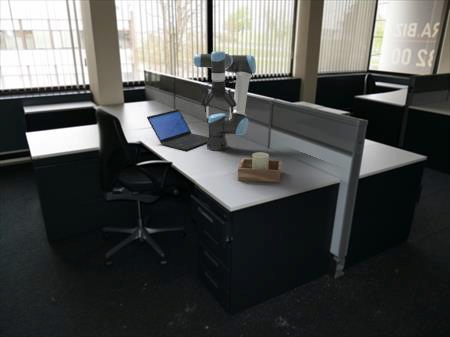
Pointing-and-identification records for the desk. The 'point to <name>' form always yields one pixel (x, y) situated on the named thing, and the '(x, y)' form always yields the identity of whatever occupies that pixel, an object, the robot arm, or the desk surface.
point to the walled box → (259, 172)
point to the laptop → (175, 131)
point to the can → (260, 160)
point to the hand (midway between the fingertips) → (219, 118)
